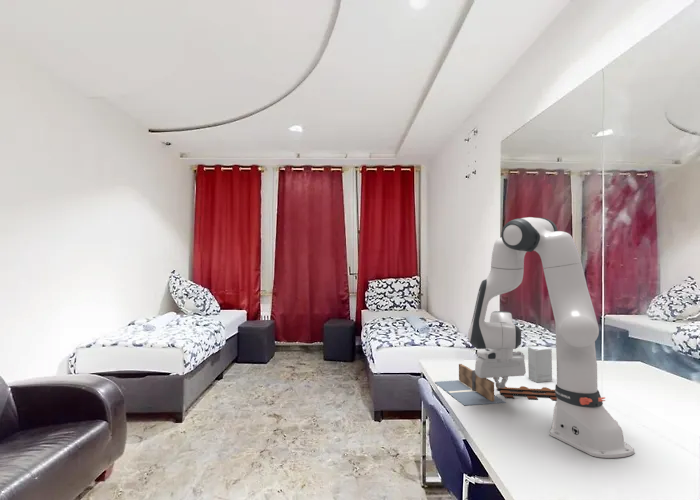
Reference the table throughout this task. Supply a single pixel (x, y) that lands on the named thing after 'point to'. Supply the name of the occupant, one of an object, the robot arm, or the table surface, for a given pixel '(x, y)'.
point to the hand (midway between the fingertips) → (500, 387)
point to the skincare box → (540, 364)
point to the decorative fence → (528, 393)
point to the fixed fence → (467, 376)
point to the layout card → (466, 393)
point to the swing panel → (485, 387)
